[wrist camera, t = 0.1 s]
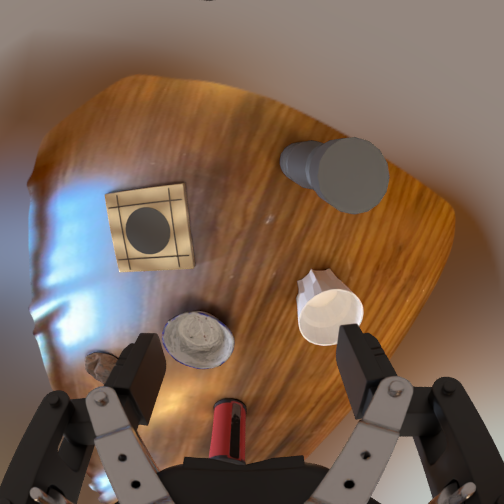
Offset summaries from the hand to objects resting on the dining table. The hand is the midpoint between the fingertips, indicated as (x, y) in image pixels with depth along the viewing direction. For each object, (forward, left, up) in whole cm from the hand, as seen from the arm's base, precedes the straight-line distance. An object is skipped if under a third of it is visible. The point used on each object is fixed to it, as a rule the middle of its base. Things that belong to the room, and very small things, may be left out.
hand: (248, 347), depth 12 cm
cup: (+16, +11, -35) cm, 40 cm away
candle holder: (-6, +8, -35) cm, 37 cm away
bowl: (+23, -11, -35) cm, 44 cm away
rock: (+35, -36, -35) cm, 61 cm away
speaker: (+47, -8, -35) cm, 59 cm away
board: (+3, -17, -35) cm, 39 cm away
